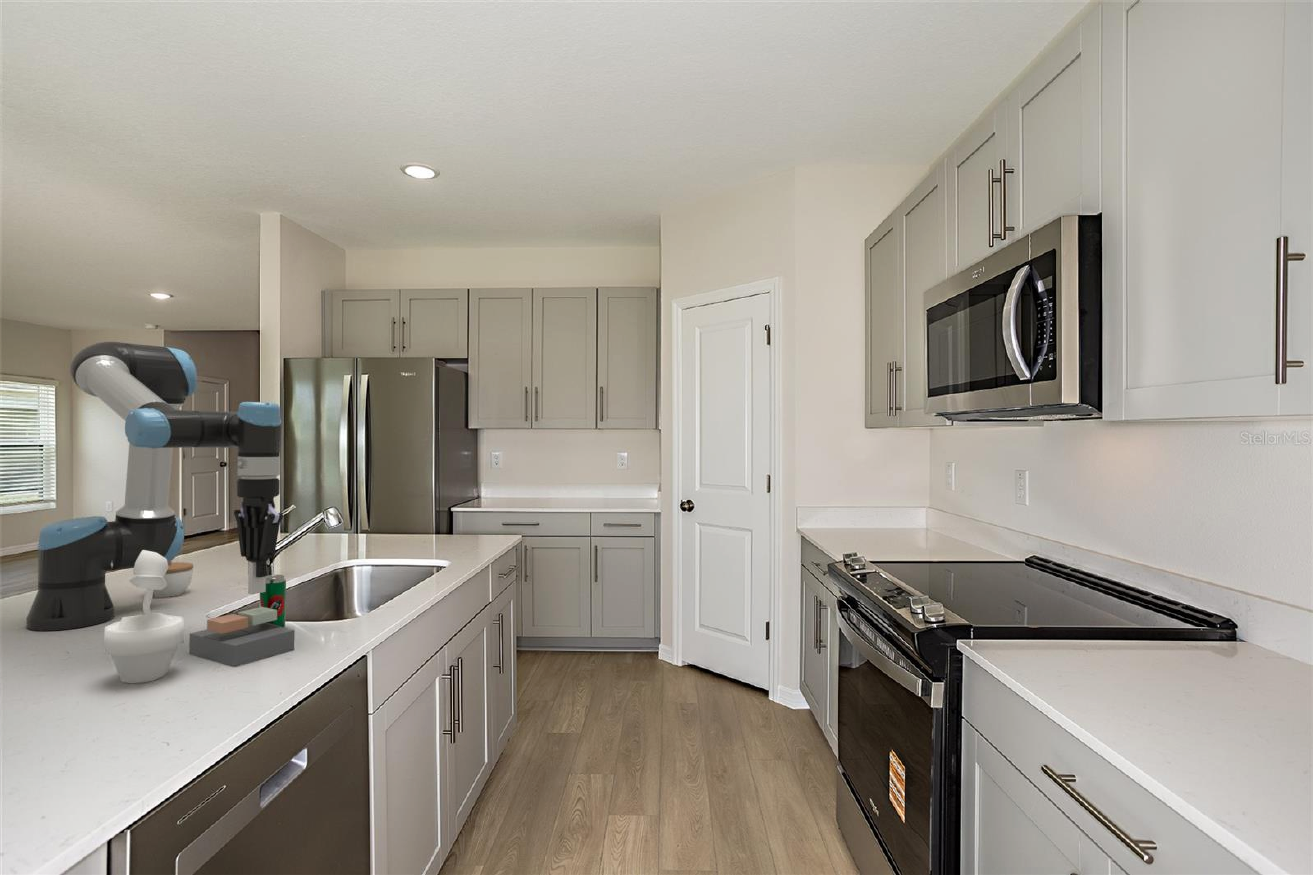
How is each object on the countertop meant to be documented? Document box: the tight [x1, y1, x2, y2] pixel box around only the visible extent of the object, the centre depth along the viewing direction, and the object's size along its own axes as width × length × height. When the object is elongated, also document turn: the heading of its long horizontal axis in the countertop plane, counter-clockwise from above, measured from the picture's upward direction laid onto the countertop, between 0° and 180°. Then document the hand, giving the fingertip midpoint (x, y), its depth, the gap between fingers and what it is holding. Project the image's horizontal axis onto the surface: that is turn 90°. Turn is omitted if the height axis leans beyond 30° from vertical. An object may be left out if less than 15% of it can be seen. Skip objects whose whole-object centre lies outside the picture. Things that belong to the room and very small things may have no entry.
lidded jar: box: [152, 561, 194, 598], centre depth 181 cm, size 11×11×9 cm
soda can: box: [259, 574, 287, 628], centre depth 150 cm, size 5×5×12 cm
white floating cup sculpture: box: [103, 550, 185, 685], centre depth 120 cm, size 13×12×25 cm
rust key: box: [206, 613, 248, 634], centre depth 133 cm, size 5×5×2 cm
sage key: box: [237, 606, 277, 625], centre depth 138 cm, size 5×5×2 cm
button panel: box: [188, 623, 296, 668], centre depth 136 cm, size 15×12×4 cm
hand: (256, 592), depth 138 cm, fingers closed
